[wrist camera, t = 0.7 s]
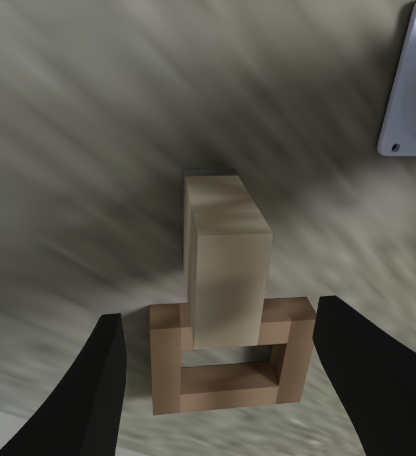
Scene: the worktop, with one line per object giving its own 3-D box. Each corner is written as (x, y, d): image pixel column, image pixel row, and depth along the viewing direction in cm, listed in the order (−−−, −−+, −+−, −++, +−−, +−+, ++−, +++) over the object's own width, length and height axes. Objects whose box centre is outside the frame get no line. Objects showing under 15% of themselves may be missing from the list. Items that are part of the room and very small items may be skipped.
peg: (234, 168, 21) (273, 233, 14) (227, 255, 24) (257, 345, 17) (183, 168, 21) (198, 235, 14) (182, 257, 24) (194, 349, 17)
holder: (306, 297, 27) (319, 319, 25) (289, 376, 31) (299, 401, 28) (150, 305, 25) (149, 329, 23) (153, 387, 29) (153, 415, 27)
